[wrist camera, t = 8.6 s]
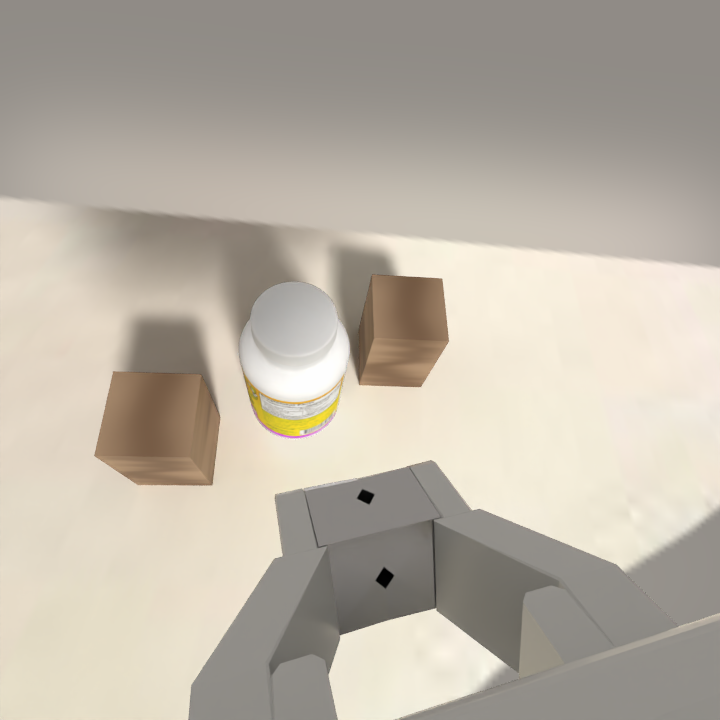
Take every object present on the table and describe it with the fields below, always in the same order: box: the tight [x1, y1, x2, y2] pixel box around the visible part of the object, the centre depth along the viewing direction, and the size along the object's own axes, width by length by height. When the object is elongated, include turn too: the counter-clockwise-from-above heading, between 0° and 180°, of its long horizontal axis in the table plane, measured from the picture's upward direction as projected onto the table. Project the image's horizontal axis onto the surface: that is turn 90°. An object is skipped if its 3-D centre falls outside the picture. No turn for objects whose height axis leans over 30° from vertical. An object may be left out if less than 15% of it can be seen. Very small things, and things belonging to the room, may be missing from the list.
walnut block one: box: [94, 371, 220, 485], centre depth 31 cm, size 5×5×8 cm
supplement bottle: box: [239, 282, 350, 439], centre depth 31 cm, size 7×7×13 cm
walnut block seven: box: [359, 274, 449, 387], centre depth 36 cm, size 5×5×8 cm
